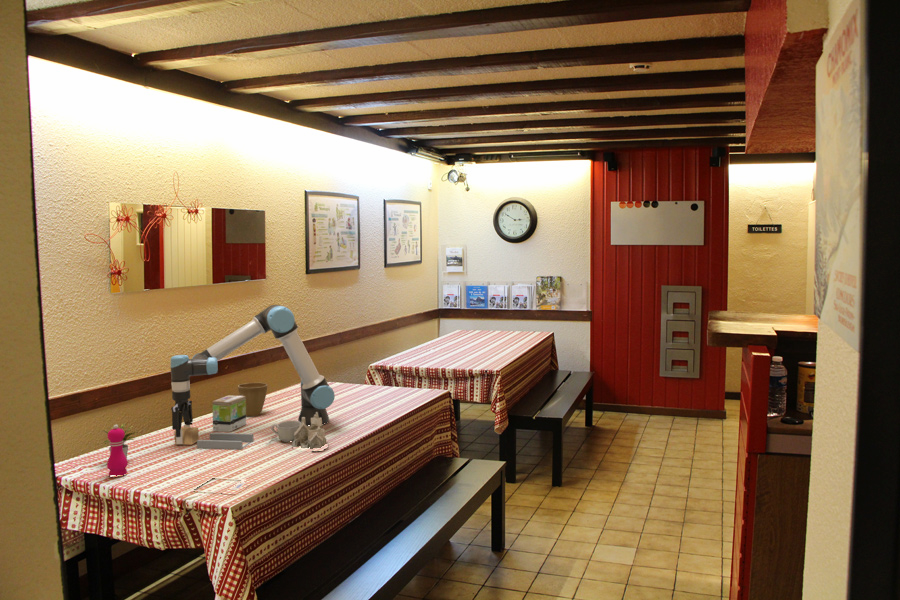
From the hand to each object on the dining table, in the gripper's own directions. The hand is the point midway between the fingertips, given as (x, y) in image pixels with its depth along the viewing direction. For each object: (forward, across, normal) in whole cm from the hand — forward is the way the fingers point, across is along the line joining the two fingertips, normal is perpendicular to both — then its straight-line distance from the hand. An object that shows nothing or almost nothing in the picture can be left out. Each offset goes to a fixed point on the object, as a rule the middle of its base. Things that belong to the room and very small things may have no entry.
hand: (183, 441), depth 301 cm
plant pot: (+3, -58, +8) cm, 58 cm away
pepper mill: (+2, +40, -5) cm, 41 cm away
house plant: (+2, +25, -15) cm, 30 cm away
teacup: (+3, -13, +43) cm, 45 cm away
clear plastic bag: (+3, +48, +42) cm, 64 cm away
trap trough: (+2, 0, +20) cm, 20 cm away
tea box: (+3, -32, +7) cm, 33 cm away
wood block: (-3, 0, +6) cm, 6 cm away
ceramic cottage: (+3, -3, +57) cm, 57 cm away
